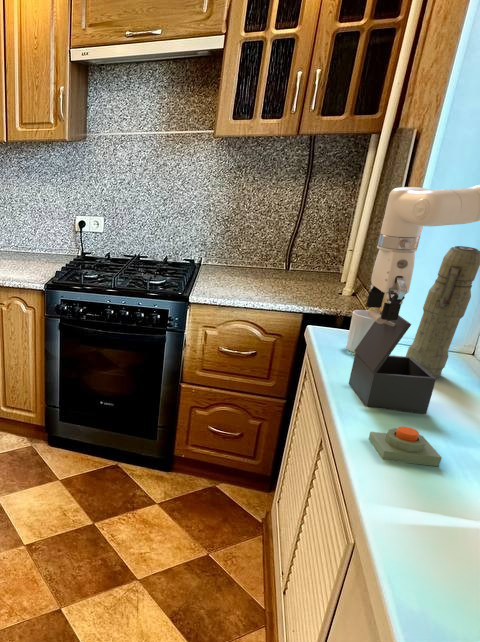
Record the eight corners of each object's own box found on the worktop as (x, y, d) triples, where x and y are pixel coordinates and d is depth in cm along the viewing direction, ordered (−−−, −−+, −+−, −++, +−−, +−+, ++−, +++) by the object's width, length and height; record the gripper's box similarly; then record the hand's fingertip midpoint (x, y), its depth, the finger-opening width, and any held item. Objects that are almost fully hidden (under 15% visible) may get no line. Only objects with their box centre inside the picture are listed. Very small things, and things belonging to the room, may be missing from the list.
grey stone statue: (443, 368, 150) (489, 247, 136) (439, 382, 141) (488, 254, 128) (405, 359, 155) (446, 241, 142) (399, 372, 147) (442, 248, 133)
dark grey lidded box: (402, 389, 138) (411, 356, 135) (426, 414, 126) (436, 378, 123) (348, 385, 141) (355, 353, 138) (366, 408, 129) (374, 374, 126)
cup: (378, 356, 159) (390, 319, 155) (352, 355, 159) (363, 318, 155) (362, 345, 167) (373, 310, 162) (336, 345, 167) (347, 309, 162)
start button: (412, 434, 111) (414, 427, 110) (420, 443, 107) (422, 436, 107) (392, 432, 112) (394, 425, 111) (399, 441, 108) (401, 434, 108)
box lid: (388, 307, 132) (368, 299, 133) (411, 324, 120) (389, 316, 121) (357, 352, 138) (338, 344, 139) (376, 372, 126) (355, 364, 126)
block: (421, 445, 113) (425, 429, 112) (439, 466, 106) (444, 449, 105) (368, 440, 116) (372, 424, 114) (382, 460, 109) (386, 443, 107)
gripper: (434, 250, 113) (414, 325, 119) (401, 236, 128) (384, 303, 134) (394, 249, 115) (376, 323, 121) (366, 235, 130) (351, 302, 136)
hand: (380, 313), depth 127 cm, fingers open, 9 cm apart
